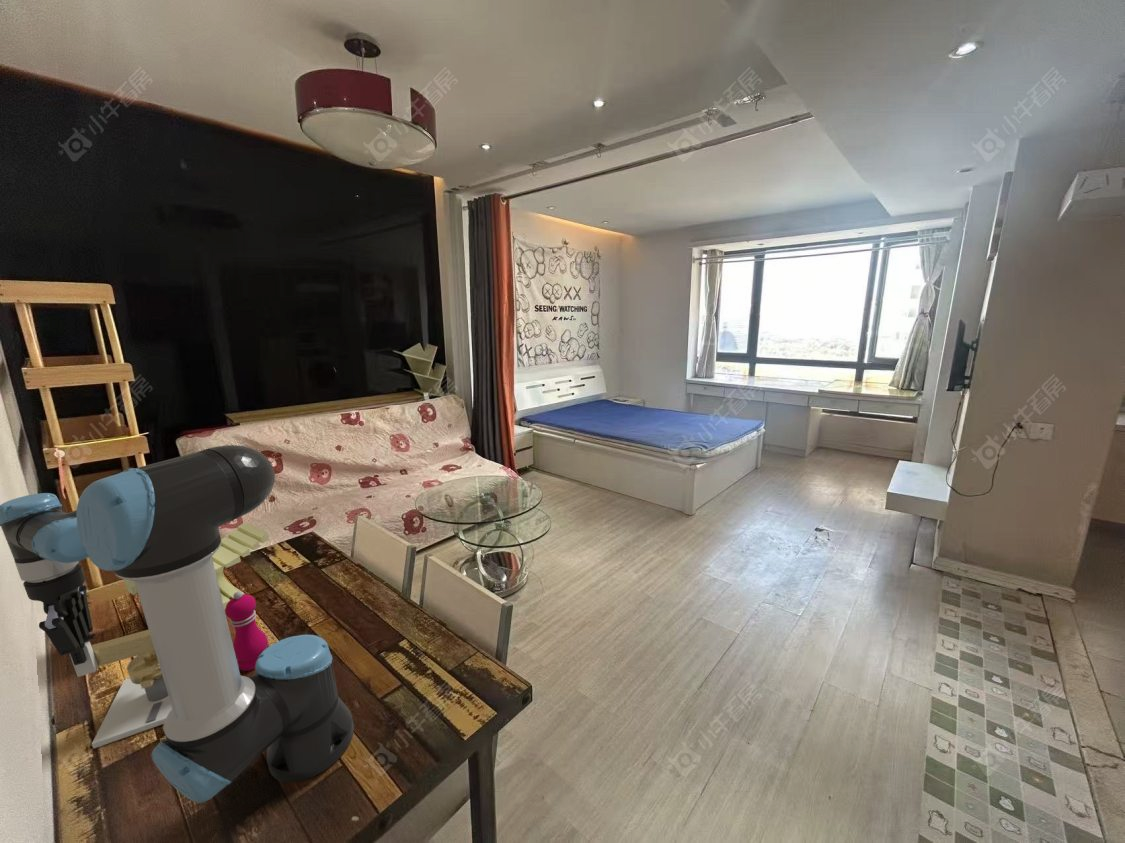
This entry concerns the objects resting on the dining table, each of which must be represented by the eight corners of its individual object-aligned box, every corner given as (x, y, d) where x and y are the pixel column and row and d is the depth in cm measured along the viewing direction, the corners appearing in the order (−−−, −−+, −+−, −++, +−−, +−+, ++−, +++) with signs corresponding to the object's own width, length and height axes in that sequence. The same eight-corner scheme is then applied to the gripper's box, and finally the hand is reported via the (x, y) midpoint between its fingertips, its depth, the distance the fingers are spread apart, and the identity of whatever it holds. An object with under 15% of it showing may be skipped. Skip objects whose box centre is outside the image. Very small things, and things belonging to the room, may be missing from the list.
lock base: (204, 709, 97) (197, 682, 95) (93, 748, 89) (82, 720, 87) (219, 654, 112) (213, 630, 111) (125, 683, 104) (117, 658, 102)
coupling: (211, 667, 99) (201, 631, 96) (75, 710, 89) (60, 672, 86) (220, 635, 109) (211, 602, 106) (99, 671, 98) (86, 635, 96)
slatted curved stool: (252, 567, 150) (241, 520, 145) (277, 581, 142) (267, 532, 137) (137, 621, 125) (119, 566, 120) (159, 642, 117) (142, 584, 112)
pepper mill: (253, 674, 106) (236, 603, 101) (228, 670, 107) (210, 600, 102) (278, 652, 113) (262, 584, 108) (254, 648, 114) (238, 581, 109)
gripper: (63, 583, 81) (100, 687, 88) (92, 551, 92) (123, 644, 99) (4, 597, 78) (46, 703, 84) (41, 561, 89) (77, 657, 95)
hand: (88, 671), depth 91 cm, fingers closed
